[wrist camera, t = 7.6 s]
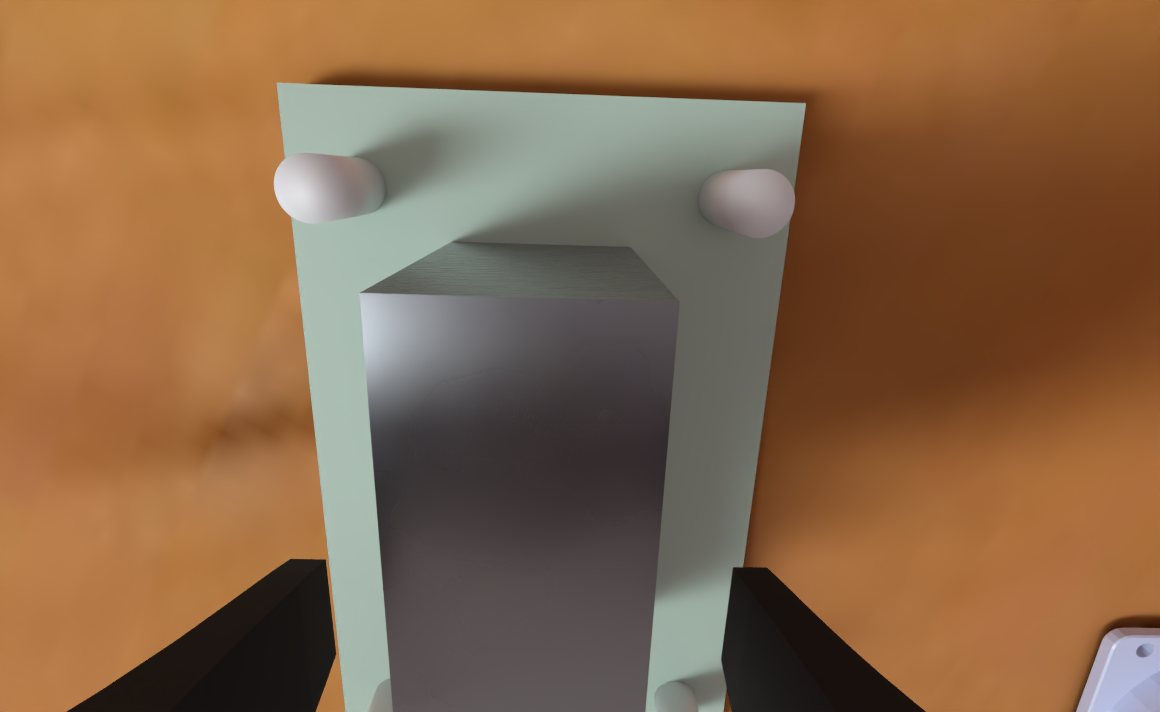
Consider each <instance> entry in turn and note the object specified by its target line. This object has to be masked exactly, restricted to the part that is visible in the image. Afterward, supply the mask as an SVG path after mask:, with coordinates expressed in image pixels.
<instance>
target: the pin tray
mask: <svg viewBox="0 0 1160 712" xmlns="http://www.w3.org/2000/svg"><path fill="white" fill-rule="evenodd" d="M277 90H278V100H279V109H280V118H281V127H282V136H283V145H284V154H285V160H284V161H283V162H282V163H281V164H280V165H279V167H278V169H277V171H276V173H275V177H274V190H275V194H276V197H277V199H278V202H279V203H280V205H281V206H282V208H283V209H284V210H285V211H286V212H287V213H288V214H289V215H290V216H291V218H292V227H293V236H294V245H295V254H296V264H297V273H298V282H299V291H300V300H301V309H302V318H303V327H304V336H305V346H306V355H307V364H308V373H309V382H310V391H311V400H312V409H313V418H314V428H315V437H316V446H317V455H318V464H319V473H320V482H321V491H322V501H323V510H324V519H325V528H326V537H327V546H328V555H329V564H330V573H331V583H332V592H333V601H334V610H335V619H336V628H337V637H338V646H339V655H340V665H341V674H342V683H343V692H344V701H345V710H346V712H393V706H392V694H391V681H390V669H389V656H388V644H387V631H386V619H385V607H384V594H383V582H382V569H381V557H380V544H379V532H378V519H377V507H376V494H375V482H374V470H373V457H372V445H371V432H370V420H369V407H368V395H367V382H366V370H365V357H364V345H363V333H362V320H361V308H360V295H359V293H360V292H362V291H364V290H365V289H367V288H369V287H371V286H373V285H374V284H376V283H378V282H380V281H382V280H383V279H385V278H387V277H389V276H391V275H392V274H394V273H396V272H398V271H400V270H401V269H403V268H405V267H407V266H409V265H410V264H412V263H414V262H416V261H418V260H419V259H421V258H423V257H425V256H427V255H428V254H430V253H432V252H434V251H436V250H437V249H439V248H441V247H443V246H445V245H446V244H448V243H450V242H482V243H515V244H548V245H581V246H614V247H631V248H632V249H633V250H634V251H635V252H636V253H637V255H638V256H639V257H640V258H641V259H642V260H643V261H644V262H645V263H646V265H647V266H648V267H649V268H650V269H651V270H652V271H653V272H654V274H655V275H656V276H657V277H658V278H659V279H660V280H661V281H662V282H663V284H664V285H665V286H666V287H667V288H668V289H669V290H670V291H671V292H672V294H673V295H674V296H675V297H676V298H677V299H678V300H679V301H680V306H679V318H678V329H677V341H676V353H675V365H674V377H673V389H672V401H671V413H670V425H669V437H668V449H667V461H666V472H665V484H664V496H663V508H662V520H661V532H660V544H659V556H658V568H657V580H656V592H655V604H654V615H653V627H652V639H651V651H650V663H649V675H648V687H647V699H646V711H645V712H723V711H724V704H725V696H726V689H727V686H726V682H725V677H724V672H723V667H722V662H721V656H722V648H723V640H724V632H725V625H726V617H727V609H728V601H729V594H730V586H731V578H732V570H733V567H743V564H744V557H745V549H746V542H747V535H748V527H749V520H750V512H751V505H752V498H753V490H754V483H755V476H756V468H757V461H758V454H759V446H760V439H761V432H762V424H763V417H764V409H765V402H766V395H767V387H768V380H769V373H770V365H771V358H772V351H773V343H774V336H775V329H776V321H777V314H778V306H779V299H780V292H781V284H782V277H783V270H784V262H785V255H786V248H787V240H788V233H789V226H790V218H791V216H792V214H793V211H794V206H795V195H794V189H795V181H796V174H797V167H798V159H799V152H800V145H801V137H802V130H803V123H804V115H805V108H806V103H787V102H761V101H735V100H709V99H684V98H658V97H632V96H606V95H580V94H554V93H529V92H503V91H477V90H451V89H425V88H399V87H374V86H348V85H322V84H296V83H277Z"/></svg>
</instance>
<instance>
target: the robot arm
mask: <svg viewBox="0 0 1160 712" xmlns="http://www.w3.org/2000/svg"><path fill="white" fill-rule="evenodd" d="M335 656H336V649H335V640H334V631H333V622H332V613H331V604H330V595H329V586H328V577H327V568H326V560H315V559H290V560H289V561H287V562H285V563H284V564H282V565H281V566H279V567H278V568H277V569H275V570H274V571H272V572H271V573H269V574H268V575H267V576H265V577H264V578H262V579H261V580H260V581H258V582H257V583H255V584H254V585H253V586H251V587H250V588H249V589H247V590H246V591H244V592H243V593H242V594H240V595H239V596H238V597H236V598H235V599H233V600H232V601H231V602H229V603H228V604H227V605H225V606H224V607H222V608H221V609H220V610H218V611H217V612H215V613H214V614H213V615H211V616H210V617H208V618H207V619H206V620H204V621H203V622H201V623H200V624H199V625H197V626H196V627H194V628H193V629H192V630H190V631H189V632H187V633H186V634H185V635H183V636H182V637H180V638H179V639H178V640H176V641H175V642H173V643H172V644H170V645H169V646H167V647H166V648H164V649H163V650H161V651H160V652H158V653H157V654H155V655H154V656H152V657H151V658H149V659H148V660H146V661H145V662H143V663H142V664H140V665H139V666H137V667H136V668H134V669H133V670H131V671H130V672H128V673H127V674H125V675H124V676H122V677H121V678H119V679H118V680H116V681H115V682H113V683H112V684H110V685H109V686H107V687H106V688H104V689H103V690H101V691H99V692H98V693H96V694H95V695H93V696H91V697H90V698H88V699H87V700H85V701H83V702H82V703H80V704H78V705H77V706H75V707H74V708H72V709H70V710H69V711H67V712H315V711H316V709H317V706H318V703H319V701H320V698H321V695H322V693H323V690H324V688H325V685H326V682H327V679H328V676H329V673H330V670H331V667H332V665H333V662H334V659H335ZM721 662H722V667H723V672H724V677H725V682H726V686H727V691H728V696H729V700H730V704H731V709H732V712H926V711H924V710H923V709H922V708H920V707H919V706H918V705H917V704H916V703H914V702H913V701H912V700H911V699H910V698H908V697H907V696H906V695H905V694H904V693H902V692H901V691H900V690H899V689H898V688H896V687H895V686H894V685H893V684H892V683H891V682H889V681H888V680H887V679H886V678H885V677H883V676H882V675H881V674H880V673H879V672H878V671H876V670H875V669H874V668H873V667H872V666H871V665H870V664H869V663H867V662H866V661H865V660H864V659H863V658H862V657H861V656H860V655H858V654H857V653H856V652H855V651H854V650H853V649H852V648H851V647H850V646H849V645H847V644H846V643H845V642H844V641H843V640H842V639H841V638H840V637H839V636H838V635H837V634H836V633H834V632H833V631H832V630H831V629H830V628H829V627H828V626H827V625H826V624H825V623H824V622H823V621H822V620H821V619H820V618H819V617H818V616H817V615H816V614H815V613H813V612H812V611H811V610H810V609H809V608H808V607H807V606H806V605H805V604H804V603H803V602H802V601H801V600H800V599H799V598H798V597H797V596H796V595H795V594H794V593H793V592H792V591H791V590H790V589H789V588H788V587H787V586H786V585H785V584H784V583H783V582H782V581H781V580H779V579H778V578H777V577H776V576H775V575H774V574H773V573H772V572H771V571H770V570H769V569H768V568H753V567H733V570H732V578H731V586H730V594H729V601H728V609H727V617H726V625H725V632H724V640H723V648H722V656H721ZM1076 712H1160V628H1116V629H1113V630H1111V631H1109V632H1108V633H1107V634H1106V635H1105V636H1104V638H1103V639H1102V642H1101V645H1100V647H1099V650H1098V653H1097V656H1096V658H1095V661H1094V664H1093V666H1092V669H1091V672H1090V675H1089V677H1088V680H1087V683H1086V686H1085V688H1084V691H1083V694H1082V697H1081V699H1080V702H1079V705H1078V708H1077V710H1076Z"/></svg>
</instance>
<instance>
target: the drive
mask: <svg viewBox="0 0 1160 712" xmlns="http://www.w3.org/2000/svg"><path fill="white" fill-rule="evenodd" d="M359 295H360V308H361V320H362V333H363V345H364V357H365V370H366V382H367V395H368V407H369V420H370V432H371V445H372V457H373V470H374V482H375V494H376V507H377V519H378V532H379V544H380V557H381V569H382V582H383V594H384V607H385V619H386V631H387V644H388V656H389V669H390V681H391V694H392V706H393V712H645V711H646V699H647V687H648V675H649V663H650V651H651V639H652V627H653V615H654V604H655V592H656V580H657V568H658V556H659V544H660V532H661V520H662V508H663V496H664V484H665V472H666V461H667V449H668V437H669V425H670V413H671V401H672V389H673V377H674V365H675V353H676V341H677V329H678V318H679V306H680V301H679V300H678V299H677V298H676V297H675V296H674V295H673V294H672V292H671V291H670V290H669V289H668V288H667V287H666V286H665V285H664V284H663V282H662V281H661V280H660V279H659V278H658V277H657V276H656V275H655V274H654V272H653V271H652V270H651V269H650V268H649V267H648V266H647V265H646V263H645V262H644V261H643V260H642V259H641V258H640V257H639V256H638V255H637V253H636V252H635V251H634V250H633V249H632V248H631V247H614V246H581V245H548V244H515V243H482V242H450V243H448V244H446V245H445V246H443V247H441V248H439V249H437V250H436V251H434V252H432V253H430V254H428V255H427V256H425V257H423V258H421V259H419V260H418V261H416V262H414V263H412V264H410V265H409V266H407V267H405V268H403V269H401V270H400V271H398V272H396V273H394V274H392V275H391V276H389V277H387V278H385V279H383V280H382V281H380V282H378V283H376V284H374V285H373V286H371V287H369V288H367V289H365V290H364V291H362V292H360V293H359Z"/></svg>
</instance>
